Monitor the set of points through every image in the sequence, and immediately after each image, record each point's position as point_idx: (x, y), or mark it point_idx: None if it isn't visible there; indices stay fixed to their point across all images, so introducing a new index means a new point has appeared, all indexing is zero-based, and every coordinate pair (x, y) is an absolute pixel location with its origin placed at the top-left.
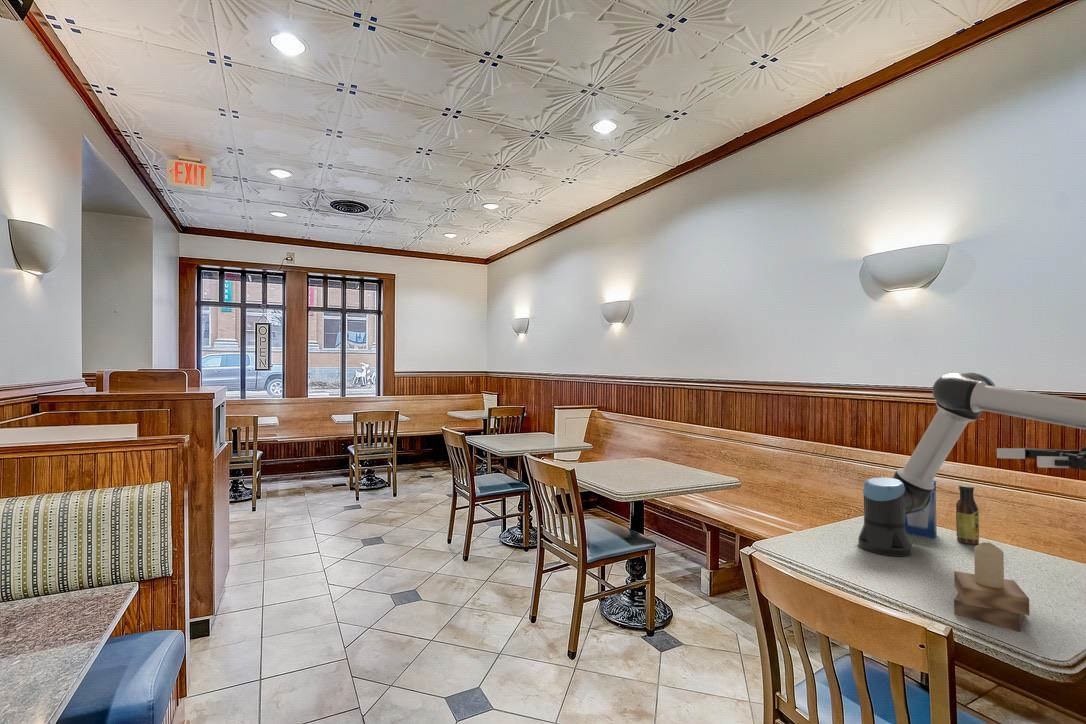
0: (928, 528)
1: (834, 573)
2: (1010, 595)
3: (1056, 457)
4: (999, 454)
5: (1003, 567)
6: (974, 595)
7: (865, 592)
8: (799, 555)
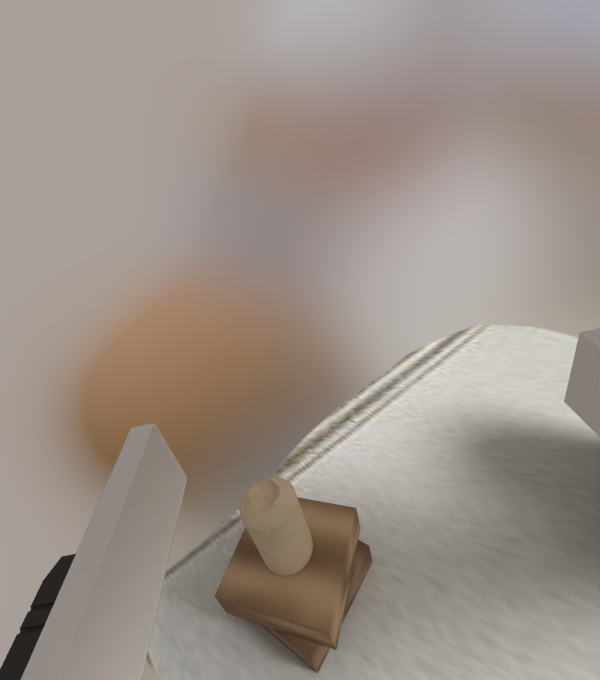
0: None
1: (415, 393)
2: (230, 562)
3: (78, 555)
4: (575, 380)
5: (257, 545)
6: None
7: (346, 418)
8: (483, 359)
